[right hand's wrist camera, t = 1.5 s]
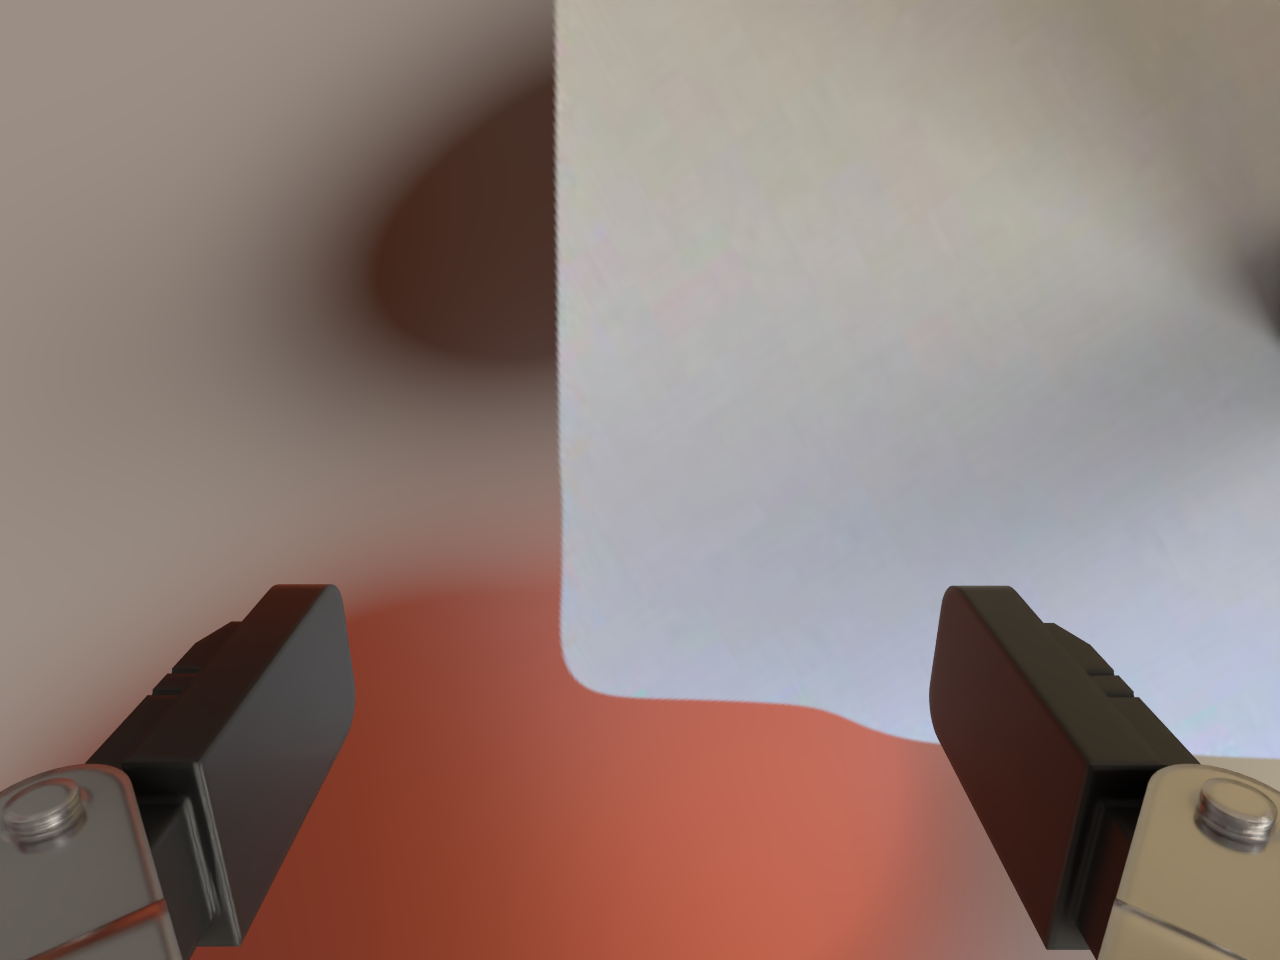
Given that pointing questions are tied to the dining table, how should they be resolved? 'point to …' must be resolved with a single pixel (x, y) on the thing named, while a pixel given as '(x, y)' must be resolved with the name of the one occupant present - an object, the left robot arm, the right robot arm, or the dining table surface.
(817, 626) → the dining table surface
